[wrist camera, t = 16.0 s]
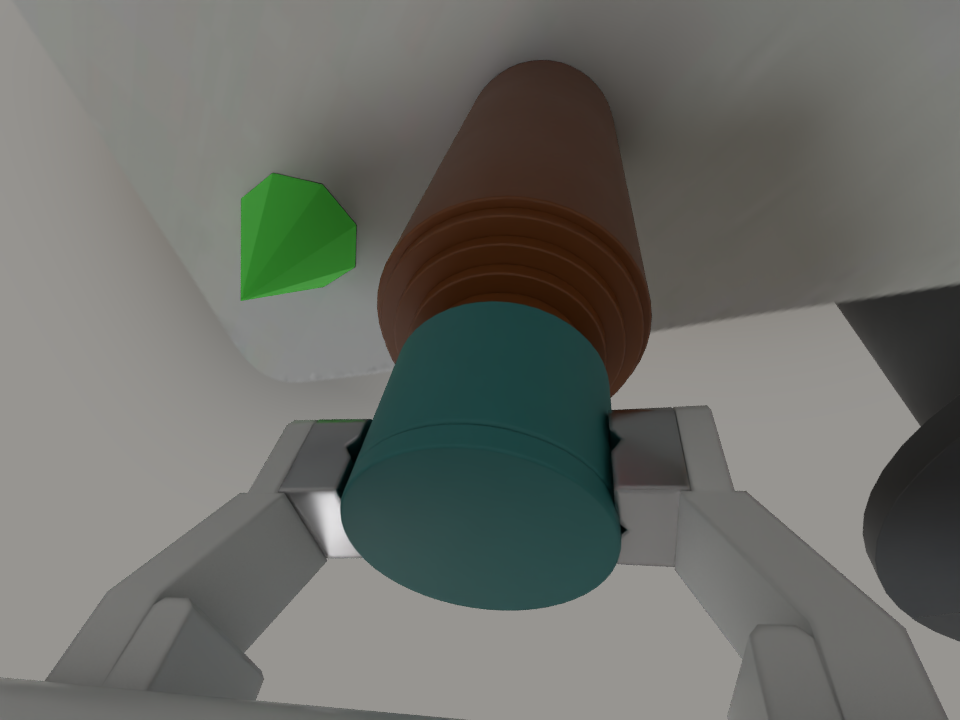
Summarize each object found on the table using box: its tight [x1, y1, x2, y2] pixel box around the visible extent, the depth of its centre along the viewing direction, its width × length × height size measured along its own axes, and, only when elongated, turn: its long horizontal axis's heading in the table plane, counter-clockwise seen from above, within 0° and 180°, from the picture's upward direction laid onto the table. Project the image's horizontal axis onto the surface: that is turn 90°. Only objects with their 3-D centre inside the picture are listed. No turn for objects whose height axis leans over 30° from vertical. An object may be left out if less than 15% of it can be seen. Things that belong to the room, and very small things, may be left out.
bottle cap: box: [340, 301, 621, 610], centre depth 9 cm, size 4×4×3 cm
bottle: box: [377, 60, 652, 398], centre depth 15 cm, size 6×6×18 cm
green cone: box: [241, 173, 357, 301], centre depth 24 cm, size 6×6×6 cm
